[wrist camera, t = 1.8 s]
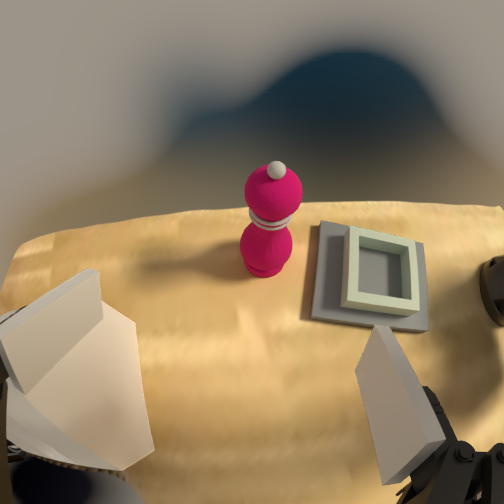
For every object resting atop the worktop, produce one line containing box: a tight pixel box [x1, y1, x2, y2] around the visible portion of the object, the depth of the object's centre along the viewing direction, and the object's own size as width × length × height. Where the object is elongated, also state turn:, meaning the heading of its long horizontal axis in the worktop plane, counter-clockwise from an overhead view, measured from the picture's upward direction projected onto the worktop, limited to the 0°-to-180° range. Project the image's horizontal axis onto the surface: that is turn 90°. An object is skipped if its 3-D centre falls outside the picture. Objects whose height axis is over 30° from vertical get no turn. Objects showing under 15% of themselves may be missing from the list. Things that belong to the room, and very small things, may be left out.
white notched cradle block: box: [0, 300, 155, 471], centre depth 21 cm, size 19×15×25 cm
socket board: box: [310, 220, 429, 333], centre depth 39 cm, size 20×16×4 cm
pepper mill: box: [240, 161, 303, 278], centre depth 33 cm, size 7×7×20 cm
